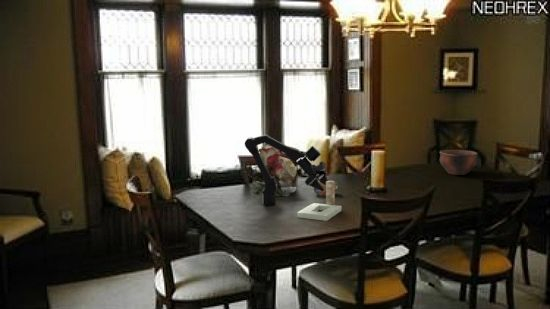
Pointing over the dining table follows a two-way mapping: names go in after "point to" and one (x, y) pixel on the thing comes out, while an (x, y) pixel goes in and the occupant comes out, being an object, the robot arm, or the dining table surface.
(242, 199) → the dining table surface
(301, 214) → the keyhole plate
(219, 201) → the dining table surface
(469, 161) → the bowl
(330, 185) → the peg
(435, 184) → the dining table surface
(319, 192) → the tin
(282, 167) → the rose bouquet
